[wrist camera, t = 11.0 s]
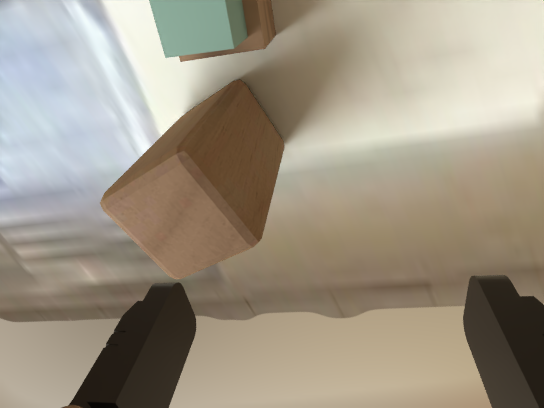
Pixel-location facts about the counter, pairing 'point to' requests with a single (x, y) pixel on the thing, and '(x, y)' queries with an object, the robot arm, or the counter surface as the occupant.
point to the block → (201, 184)
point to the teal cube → (199, 25)
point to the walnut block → (248, 30)
